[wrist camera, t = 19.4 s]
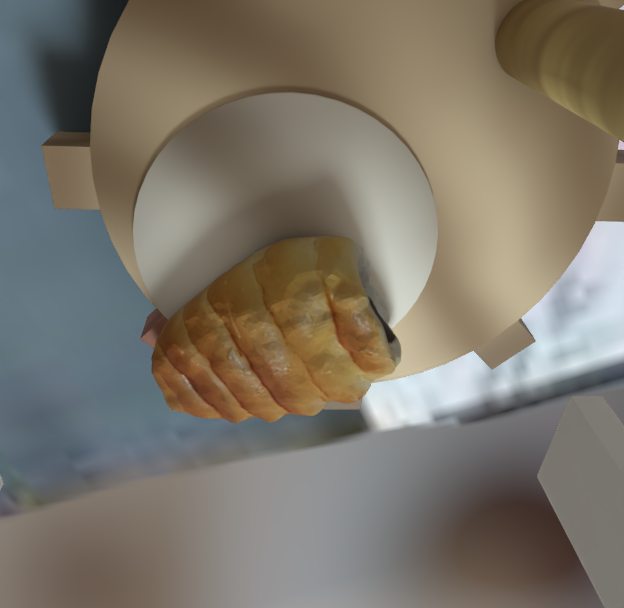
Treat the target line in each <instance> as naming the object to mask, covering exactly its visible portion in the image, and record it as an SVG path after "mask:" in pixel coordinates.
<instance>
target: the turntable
mask: <svg viewBox="0 0 624 608" xmlns="http://www.w3.org/2000/svg"><path fill="white" fill-rule="evenodd" d="M623 5H624V0H129V1H128V3H127V5H126V7H125V9H124V11H123V13H122V15H121V17H120V19H119V21H118V23H117V25H116V27H115V29H114V31H113V33H112V35H111V37H110V40H109V43H108V46H107V49H106V52H105V55H104V58H103V61H102V64H101V67H100V70H99V73H98V78H97V83H96V89H95V94H94V99H93V105H92V112H91V133H89V132H58V131H57V132H56V133H55V134H54V135H53V136H51V137H50V138H49V139H48V140H47V141H46V142H45V143H44V144H43V145H41V146H42V151H43V156H44V161H45V166H46V170H47V175H48V180H49V185H50V190H51V194H52V199H53V204H54V209H93V210H100V211H101V214H102V217H103V220H104V222H105V225H106V228H107V230H108V233H109V235H110V238H111V241H112V243H113V245H114V247H115V249H116V251H117V253H118V254H119V256H120V258H121V260H122V262H123V264H124V266H125V267H126V269H127V271H128V272H129V274H130V275H131V276H132V278H133V279H134V281H135V282H136V283H137V285H138V286H139V288H140V289H141V290H142V292H143V293H144V295H145V296H146V297H147V298H148V299H149V300H150V301H151V302H152V303H153V304H154V306H155V307H156V308H157V309H155V310H154V311H153V312H152V313H151V314H150V315H149V316H148V317H147V320H146V323H145V326H144V329H143V332H142V335H141V338H140V339H142V340H143V341H144V342H146V343H147V344H149V345H150V346H151V347H153V348H155V343H156V339H157V338H158V336H159V335H160V333H161V331H162V329H163V327H164V326H165V324H166V322H167V321H168V320H169V319H170V318H171V317H172V316H173V315H174V314H175V313H176V312H177V311H178V310H179V309H181V308H182V307H183V306H184V305H186V304H187V303H188V302H189V301H190V300H192V299H193V298H194V297H195V296H197V295H198V294H199V293H200V292H201V291H202V290H203V289H204V288H206V287H207V286H208V285H209V284H211V283H212V282H213V281H214V280H216V279H217V278H218V277H219V276H221V275H222V274H224V273H225V272H227V271H229V270H230V269H231V268H232V267H234V266H235V265H236V264H238V263H240V262H242V261H244V260H245V259H246V258H248V257H249V256H250V255H251V254H253V253H254V252H255V251H257V250H258V249H262V248H265V247H267V246H270V245H272V244H274V243H276V242H279V241H281V240H284V239H287V238H296V237H315V236H339V237H346V238H350V239H351V240H353V241H354V242H356V243H357V244H358V245H360V246H361V247H362V248H363V250H364V253H365V255H366V257H367V259H368V260H369V262H370V273H371V274H370V278H369V281H370V282H371V284H372V285H373V286H374V287H375V289H376V290H377V292H378V294H379V296H380V297H381V299H382V300H383V301H384V303H385V305H386V308H387V310H388V314H389V319H390V320H389V323H388V325H389V327H390V328H391V329H392V331H393V332H394V334H395V335H396V336H397V338H398V339H399V342H400V345H401V352H402V354H401V362H400V363H399V365H398V366H397V367H396V368H395V371H394V372H393V373H392V374H389V375H386V376H384V377H381V378H377V379H375V380H374V381H373V382H372V383H375V382H382V381H388V380H394V379H398V378H402V377H406V376H410V375H414V374H418V373H421V372H424V371H427V370H430V369H432V368H435V367H438V366H441V365H443V364H446V363H448V362H450V361H453V360H455V359H457V358H459V357H461V356H463V355H465V354H467V353H469V352H471V351H474V352H475V353H476V354H477V355H478V356H479V357H480V358H481V359H482V360H483V361H484V362H485V363H486V364H487V365H488V366H489V367H490V368H491V369H494V368H495V367H497V366H498V365H500V364H501V363H503V362H505V361H506V360H508V359H509V358H511V357H512V356H514V355H515V354H517V353H518V352H520V351H521V350H523V349H525V348H526V347H528V346H529V345H531V344H532V343H534V342H535V339H534V338H533V336H532V334H531V333H530V331H529V330H528V328H527V327H526V325H525V324H524V322H523V321H522V319H521V317H522V316H523V315H525V314H526V313H527V312H528V311H529V310H530V309H531V308H532V307H533V306H534V305H535V304H537V303H538V302H539V301H540V300H541V299H542V298H543V297H544V295H545V294H546V293H547V292H548V291H549V290H550V289H551V288H552V286H553V285H554V284H555V283H556V282H557V281H558V280H559V278H560V277H561V276H562V275H563V273H564V272H565V270H566V269H567V268H568V266H569V265H570V263H571V262H572V261H573V259H574V258H575V256H576V255H577V254H578V252H579V251H580V249H581V247H582V245H583V243H584V242H585V240H586V238H587V236H588V234H589V233H590V231H591V229H592V227H593V225H594V224H595V221H618V222H624V150H618V144H619V140H621V141H623V142H624V10H620V9H619V8H620V7H622V6H623ZM361 403H362V398H361V399H359V400H358V401H355V402H354V403H349V404H345V403H340V402H336V401H329V402H327V403H326V404H325V406H324V408H323V409H361Z"/></svg>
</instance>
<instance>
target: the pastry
mask: <svg viewBox="0 0 624 608" xmlns="http://www.w3.org/2000/svg"><path fill="white" fill-rule="evenodd" d="M370 274H371V273H370V262H369V260H368V259H367V257H366V255H365V253H364V250H363V248H362V247H361V246H360V245H358V244H357V243H356V242H354V241H353V240H351V239H350V238H346V237H339V236H315V237H296V238H287V239H284V240H281V241H279V242H276V243H274V244H272V245H270V246H267V247H265V248H262V249H258V250H257V251H255V252H254V253H253V254H251V255H250V256H249V257H248V258H246V259H245V260H244V261H242V262H240V263H238V264H236V265H235V266H234V267H232V268H231V269H230V270H229V271H227V272H225V273H224V274H222V275H221V276H219V277H218V278H217V279H216V280H214V281H213V282H212V283H211V284H209V285H208V286H207V287H206V288H204V289H203V290H202V291H201V292H200V293H199V294H198V295H197V296H195V297H194V298H193V299H192V300H190V301H189V302H188V303H187V304H186V305H184V306H183V307H182V308H181V309H179V310H178V311H177V312H176V313H175V314H174V315H173V316H172V317H171V318H170V319H169V320H168V321H167V322H166V324H165V326H164V327H163V329H162V331H161V333H160V335H159V336H158V338H157V339H156V343H155V348H154V352H153V355H152V358H151V359H152V373H153V376H154V378H155V380H156V382H157V384H158V386H159V387H160V389H161V390H162V392H163V394H164V398H165V401H166V403H167V405H168V406H169V407H170V408H171V409H172V410H175V411H179V412H184V413H188V414H191V415H193V416H195V417H201V418H216V419H226V420H229V421H230V422H233V423H238V422H240V421H243V420H245V419H248V418H252V417H259V418H261V419H263V420H265V421H267V422H274V421H277V420H278V419H280V418H281V417H283V416H284V415H286V414H295V415H308V416H314V415H316V414H317V413H319V412H320V411H321V410H322V409H323V408H324V406H325V404H326V403H327V402H329V401H336V402H340V403H345V404H349V403H354V402H355V401H358V400H359V399H361V398H362V397H363V396H364V395H365V394H366V392H367V391H368V389H369V388H370V386H371V383H372V382H373V381H374V380H375V379H377V378H381V377H384V376H386V375H389V374H392V373H393V372H394V371H395V368H396V367H397V366H398V365H399V363H400V362H401V354H402V352H401V345H400V342H399V339H398V338H397V336H396V335H395V334H394V332H393V331H392V329H391V328H390V327H389V325H388V323H389V320H390V319H389V314H388V310H387V308H386V305H385V303H384V301H383V300H382V299H381V297H380V296H379V294H378V292H377V290H376V289H375V287H374V286H373V285H372V284H371V282H370V281H369V278H370Z"/></svg>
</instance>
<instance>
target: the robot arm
mask: <svg viewBox="0 0 624 608" xmlns="http://www.w3.org/2000/svg"><path fill="white" fill-rule="evenodd" d="M537 477H538V479H539V481H540V483H541V485H542V487H543V489H544V491H545V493H546V495H547V497H548V499H549V501H550V503H551V505H552V507H553V508H554V510H555V512H556V514H557V516H558V518H559V520H560V522H561V524H562V526H563V528H564V530H565V532H566V534H567V536H568V538H569V540H570V542H571V544H572V545H573V547H574V549H575V551H576V553H577V555H578V557H579V559H580V561H581V563H582V565H583V567H584V569H585V571H586V573H587V575H588V577H589V579H590V580H591V582H592V584H593V586H594V588H595V590H596V592H597V594H598V596H599V598H600V600H601V602H602V604H603V605H604V608H624V425H623V424H622V423H621V421H620V420H619V419H618V417H617V416H616V415H615V413H614V412H613V411H612V409H611V408H610V407H609V405H608V404H607V402H606V401H605V400H604V398H603V397H602V396H571V397H570V400H569V402H568V405H567V407H566V409H565V412H564V414H563V416H562V419H561V421H560V423H559V426H558V428H557V430H556V433H555V435H554V437H553V440H552V442H551V444H550V447H549V449H548V451H547V454H546V456H545V459H544V461H543V463H542V465H541V468H540V470H539V472H538V475H537ZM2 485H3V481H2V478H1V475H0V490H1V487H2Z"/></svg>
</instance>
